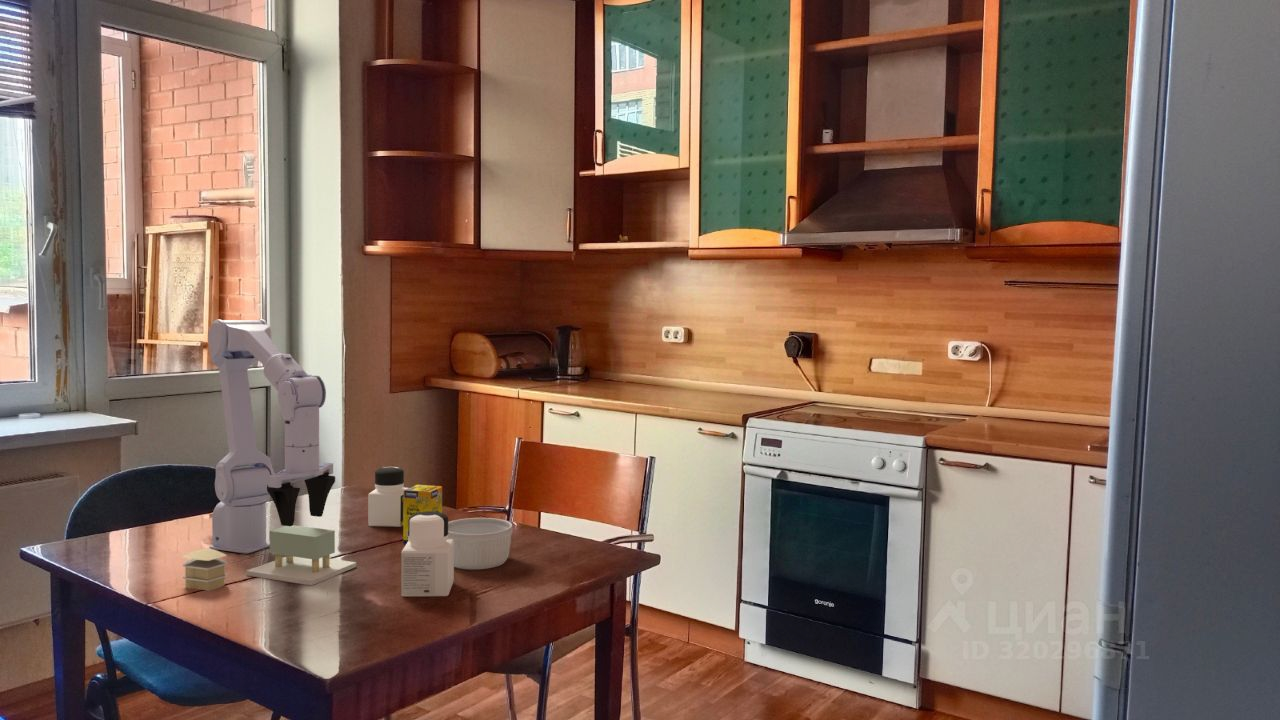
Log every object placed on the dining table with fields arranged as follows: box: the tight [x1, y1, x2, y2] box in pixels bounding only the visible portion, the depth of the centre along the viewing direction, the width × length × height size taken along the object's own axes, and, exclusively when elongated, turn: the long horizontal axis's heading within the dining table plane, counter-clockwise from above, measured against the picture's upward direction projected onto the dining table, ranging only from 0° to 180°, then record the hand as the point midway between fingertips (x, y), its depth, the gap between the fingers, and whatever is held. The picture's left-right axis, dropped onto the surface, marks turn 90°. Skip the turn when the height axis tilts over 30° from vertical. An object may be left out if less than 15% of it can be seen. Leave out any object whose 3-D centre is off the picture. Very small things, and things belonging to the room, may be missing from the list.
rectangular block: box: [269, 524, 336, 560], centre depth 165 cm, size 10×5×4 cm, turn 70°
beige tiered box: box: [182, 548, 228, 592], centre depth 157 cm, size 10×9×6 cm
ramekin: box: [448, 517, 514, 570], centre depth 174 cm, size 13×13×7 cm
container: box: [400, 511, 455, 597], centre depth 156 cm, size 8×8×13 cm
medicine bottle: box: [367, 466, 410, 528], centre depth 202 cm, size 7×7×12 cm
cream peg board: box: [245, 554, 357, 586], centre depth 166 cm, size 14×12×3 cm
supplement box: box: [402, 484, 443, 545], centre depth 187 cm, size 6×6×11 cm
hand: (302, 520), depth 165 cm, fingers open, 7 cm apart
